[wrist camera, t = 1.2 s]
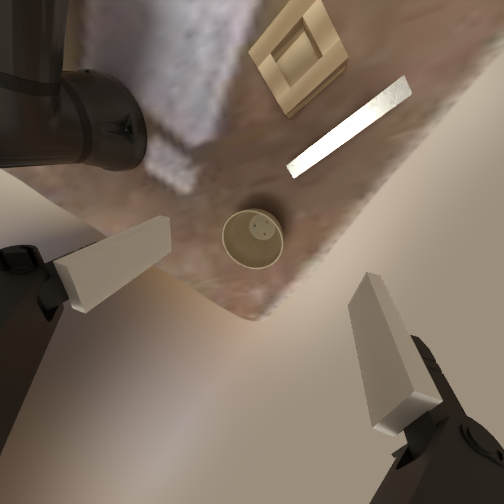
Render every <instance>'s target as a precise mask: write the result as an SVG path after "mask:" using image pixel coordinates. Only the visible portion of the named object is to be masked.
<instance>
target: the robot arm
mask: <svg viewBox="0 0 504 504" xmlns="http://www.w3.org/2000/svg"><path fill="white" fill-rule="evenodd" d="M68 2H69V0H0V168H13V167H28V166H43V165H57V164H72V163H83V164H87V165H92V166H97V167H101V168H103V169H106V170H110V171H124V170H130V169H133V168H135V167H136V166H137V165H138V164H139V163H140V162H141V160H142V158H143V156H144V153H145V149H146V129H145V124H144V120H143V117H142V114H141V111H140V109H139V107H138V105H137V103H136V101H135V99H134V98H133V96H132V95H131V93H130V92H129V91H128V89H127V88H126V87H125V86H124V85H123V84H122V83H121V82H119V81H118V80H117V79H115V78H114V77H112V76H110V75H107V74H104V73H101V72H99V71H95V70H90V69H83V70H78V71H76V72H75V71H62V67H63V56H64V45H65V34H66V23H67V11H68ZM170 252H172V249H171V232H170V218H169V217H165V216H162V215H159V216H157V217H155V218H152V219H150V220H148V221H145V222H143V223H141V224H138V225H136V226H134V227H131V228H129V229H127V230H124V231H122V232H120V233H117V234H115V235H113V236H110V237H108V238H106V239H103V240H101V241H98V242H94V243H92V244H90V245H87V246H86V247H82V248H80V249H78V250H77V251H73V252H71V253H68V254H66V255H64V256H62V257H59V258H57V259H54V260H52V261H50V262H48V263H45V264H44V261H43V259H42V257H41V255H40V253H39V250H38V248H37V247H36V246H32V245H16V246H10V247H6V248H3V249H0V455H1V452H2V450H3V448H4V445H5V443H6V440H7V438H8V436H9V434H10V431H11V429H12V427H13V425H14V422H15V420H16V418H17V415H18V413H19V411H20V409H21V406H22V404H23V402H24V399H25V397H26V395H27V392H28V390H29V388H30V385H31V383H32V381H33V379H34V376H35V374H36V372H37V369H38V367H39V365H40V363H41V360H42V358H43V356H44V353H45V351H46V349H47V346H48V344H49V342H50V339H51V337H52V335H53V333H54V330H55V328H56V325H57V323H58V321H59V319H60V316H61V314H62V312H63V310H64V306H63V302H65V301H67V300H68V299H69V300H70V303H71V305H72V308H73V309H76V310H78V311H81V312H83V313H87V312H88V311H89V310H91V309H92V308H93V307H95V306H96V305H98V304H99V303H100V302H102V301H103V300H105V299H106V298H107V297H109V296H110V295H112V294H113V293H114V292H116V291H117V290H119V289H120V288H121V287H123V286H124V285H126V284H127V283H128V282H130V281H131V280H133V279H134V278H135V277H137V276H138V275H139V274H141V273H142V272H144V271H145V270H146V269H148V268H149V267H151V266H152V265H153V264H155V263H156V262H158V261H159V260H160V259H162V258H163V257H165V256H166V255H167V254H169V253H170ZM348 309H349V313H350V319H351V324H352V329H353V334H354V339H355V344H356V349H357V354H358V359H359V364H360V369H361V374H362V379H363V384H364V389H365V394H366V399H367V404H368V409H369V415H370V419H371V425H372V428H373V429H376V430H378V431H381V432H384V433H386V434H388V435H391V436H394V437H395V436H396V435H397V434H399V433H400V432H402V431H403V430H404V433H405V436H406V439H407V442H408V443H407V444H406V445H404V446H403V447H401V448H400V449H398V450H397V451H395V452H394V453H392V456H393V457H394V458H395V457H396V459H395V461H394V463H393V464H392V466H391V468H390V470H389V471H388V473H387V475H386V476H385V478H384V480H383V481H382V483H381V485H380V486H379V488H378V490H377V492H376V494H375V495H374V497H373V498H372V500H371V502H370V504H504V449H503V448H502V446H501V445H500V444H499V443H498V441H497V440H496V439H495V438H494V436H492V435H491V434H490V433H489V432H488V431H487V430H486V429H485V428H484V427H483V426H482V425H480V424H479V423H477V422H476V421H475V420H473V419H472V418H470V417H468V416H467V415H466V414H465V412H464V410H463V408H462V407H461V404H460V403H459V401H458V399H457V397H456V396H455V394H454V392H453V390H452V388H451V387H450V385H449V383H448V381H447V380H446V378H445V376H444V374H442V371H441V369H440V367H439V365H438V364H437V363H436V360H435V358H434V356H433V355H432V353H431V351H430V349H429V348H428V347H427V346H426V345H425V344H424V343H423V342H422V341H421V339H420V338H419V337H416V336H413V335H410V334H409V332H408V330H407V328H406V326H405V324H404V322H403V320H402V318H401V316H400V314H399V312H398V310H397V308H396V306H395V304H394V302H393V300H392V298H391V296H390V294H389V292H388V290H387V288H386V286H385V284H384V282H383V280H382V278H381V276H379V275H375V274H372V273H368V272H366V274H365V276H364V278H363V280H362V281H361V283H360V285H359V287H358V288H357V290H356V292H355V294H354V296H353V297H352V299H351V301H350V303H349V305H348Z"/></svg>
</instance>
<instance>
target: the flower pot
mask: <svg viewBox="0 0 504 504" xmlns="http://www.w3.org/2000/svg"><path fill="white" fill-rule="evenodd" d="M266 221H267V222H266ZM265 233H266V234H265ZM222 241H223V245H224V247H225V249H226V251H227V253H228V254H229V256H230V257H231V258H232V259H233V260H234V261H235V262H237V263H238V264H240V265H242V266H244V267H247V268H251V269H262V268H266V267H269V266H271V265H272V264H274V263H275V262H276V261H277V260H278V258H279V257H280V255H281V253H282V250H283V242H284V239H283V232H282V228H281V226H280V224H279V222H278V221H277V219H276V218H275V217H274V216H273V215H272V214H270V213H269V212H267V211H265V210H261V209H246V210H242V211H239V212H237V213H235V214H233V215H232V216H231V217H230V218H229V219H228V220H227V221H226V223H225V225H224V227H223V231H222Z"/></svg>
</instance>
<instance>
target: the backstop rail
mask: <svg viewBox="0 0 504 504" xmlns="http://www.w3.org/2000/svg"><path fill="white" fill-rule="evenodd" d="M410 95H412V92H411V90H410V88H409V85H408V83H407V81H406V78H405V76H404V75H403V76H402V77H401V78H399V79H398V80H397V81H396V82H394V83H393V84H392V85H390V86H389V87H388V88H386V89H385V90H384V91H383V92H381V93H380V94H379V95H377V96H376V97H375V98H373V99H372V100H371V101H370V102H368V103H367V104H366V105H364V106H363V107H362V108H360V109H359V110H358V111H357V112H355V113H354V114H353V115H351V116H350V117H349V118H347V119H346V120H345V121H344V122H342V123H341V124H340V125H338V126H337V127H336V128H335V129H333V130H332V131H331V132H329V133H328V134H327V135H325V136H324V137H323V138H322V139H320V140H319V141H318V142H316V143H315V144H314V145H312V146H311V147H310V148H309V149H307V150H306V151H305V152H303V153H302V154H301V155H299V156H298V157H297V158H296V159H294V160H293V161H292V162H290V163H289V164H288V165H286V167H287V168H288V170H289V171H290V173H291V175H292V176H293V178H296V177H297V176H298V175H300V174H301V173H303V172H304V171H305V170H307V169H308V168H310V167H311V166H312V165H314V164H315V163H317V162H318V161H319V160H321V159H322V158H324V157H325V156H326V155H328V154H329V153H331V152H332V151H333V150H335V149H336V148H338V147H339V146H340V145H342V144H343V143H345V142H346V141H347V140H349V139H350V138H352V137H353V136H354V135H356V134H357V133H359V132H360V131H361V130H363V129H364V128H366V127H367V126H368V125H370V124H371V123H373V122H374V121H375V120H377V119H378V118H380V117H381V116H382V115H384V114H385V113H386V112H388V111H389V110H391V109H392V108H393V107H395V106H396V105H398V104H399V103H400V102H402V101H403V100H405V99H406V98H407V97H409V96H410Z"/></svg>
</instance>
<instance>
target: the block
mask: <svg viewBox="0 0 504 504" xmlns="http://www.w3.org/2000/svg"><path fill="white" fill-rule="evenodd" d="M248 53H249V54H250V56H251V58H252V59H253V61H254V63H255V64H256V66H257V68H258V69H259V71H260V73H261V75H262V76H263V78H264V80H265V81H266V83H267V85H268V86H269V88H270V90H271V91H272V93H273V95H274V97H275V98H276V100H277V102H278V103H279V105H280V107H281V108H282V110H283V112H284V113H285V115H286V116H287V117H288V118H289V119H291V118H292V117H293V116H294V115H295V114H296V113H297V112H298V111H300V110H301V109H302V108H303V107H304V106H305V105H306V104H307V103H308V102H310V101H311V100H312V99H313V98H314V97H315V96H316V95H317V94H318V93H320V92H321V91H322V90H323V89H324V88H325V87H326V86H327V85H329V84H330V83H331V82H332V81H333V80H334V79H335V78H336V77H337V76H339V75H340V74H341V73H342V72H343V71H344V70H345V67H346V64H347V61H348V58H349V57H348V55H347V53H346V51H345V48H344V46H343V44H342V42H341V40H340V38H339V36H338V34H337V32H336V30H335V28H334V26H333V24H332V22H331V20H330V18H329V16H328V14H327V12H326V10H325V7H324V5H323V3H322V1H321V0H290V1H289V2H288V3H287V5H286V6H285V7H284V8H283V10H282V11H281V12H280V13H279V15H278V16H277V17H276V18H275V20H274V21H273V22H272V23H271V24H270V26H269V27H268V28H267V29H266V31H265V32H264V33H263V34H262V36H261V37H260V38H259V39H258V41H257V42H256V43H255V44H254V46H253V47H252V48H251V49H250V50H249V52H248Z"/></svg>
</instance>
